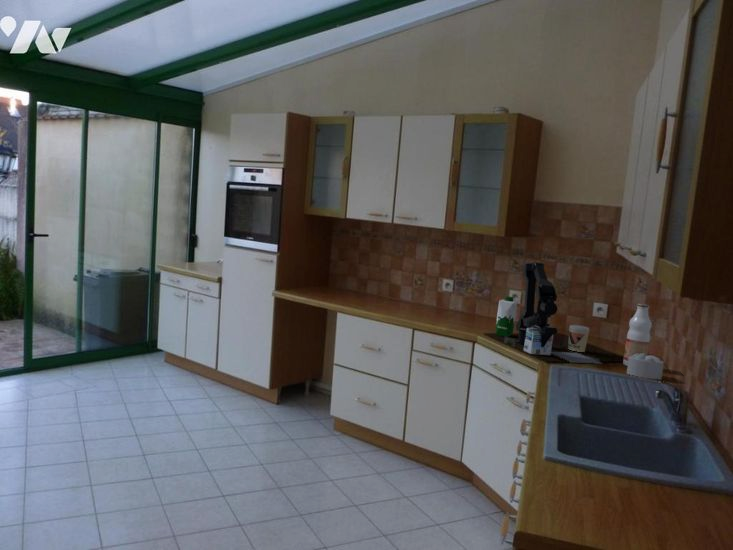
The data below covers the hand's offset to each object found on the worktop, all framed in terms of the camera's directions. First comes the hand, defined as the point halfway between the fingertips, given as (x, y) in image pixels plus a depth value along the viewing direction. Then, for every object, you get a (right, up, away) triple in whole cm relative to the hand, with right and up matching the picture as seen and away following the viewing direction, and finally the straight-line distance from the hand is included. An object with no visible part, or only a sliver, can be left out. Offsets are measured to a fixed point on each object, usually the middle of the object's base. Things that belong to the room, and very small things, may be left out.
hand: (538, 345), depth 278 cm
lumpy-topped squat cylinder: (+37, -10, -23) cm, 45 cm away
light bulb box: (0, -4, 0) cm, 4 cm away
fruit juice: (+42, -9, -5) cm, 43 cm away
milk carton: (-7, +1, +39) cm, 39 cm away
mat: (+16, -6, -2) cm, 17 cm away
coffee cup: (+23, -5, +17) cm, 29 cm away
